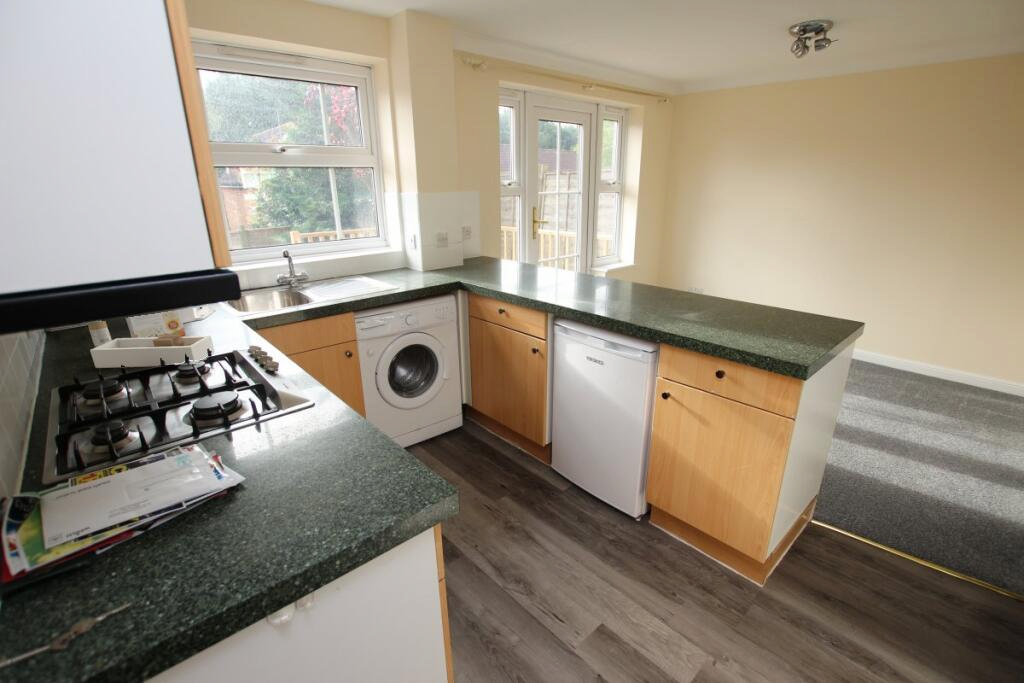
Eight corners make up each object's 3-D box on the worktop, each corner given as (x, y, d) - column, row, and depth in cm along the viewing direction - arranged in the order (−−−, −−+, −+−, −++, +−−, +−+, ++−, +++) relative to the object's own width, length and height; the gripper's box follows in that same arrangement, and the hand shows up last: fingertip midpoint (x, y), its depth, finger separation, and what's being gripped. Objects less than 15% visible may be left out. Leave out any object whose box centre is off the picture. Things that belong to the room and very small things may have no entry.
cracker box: (180, 332, 167) (165, 274, 160) (186, 336, 163) (171, 276, 156) (132, 343, 157) (113, 281, 150) (137, 347, 153) (119, 283, 146)
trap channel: (95, 367, 136) (89, 350, 134) (122, 355, 146) (116, 338, 144) (195, 364, 137) (190, 347, 135) (214, 352, 147) (210, 335, 145)
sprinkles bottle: (115, 350, 150) (103, 309, 146) (115, 353, 147) (103, 312, 143) (97, 353, 148) (83, 312, 143) (96, 357, 144) (83, 315, 140)
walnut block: (167, 347, 143) (163, 335, 142) (184, 347, 143) (180, 334, 142) (156, 353, 138) (152, 340, 137) (173, 352, 139) (170, 339, 137)
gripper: (87, 193, 140) (100, 241, 144) (26, 193, 120) (43, 248, 124) (110, 193, 140) (122, 240, 144) (53, 192, 121) (69, 247, 125)
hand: (85, 244), depth 134 cm, fingers open, 8 cm apart
